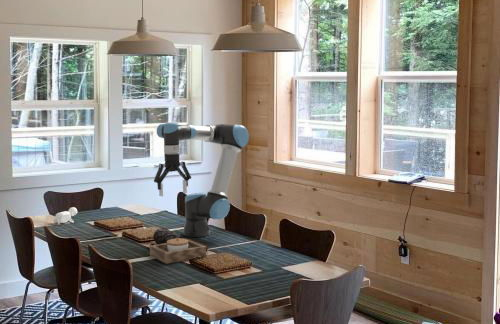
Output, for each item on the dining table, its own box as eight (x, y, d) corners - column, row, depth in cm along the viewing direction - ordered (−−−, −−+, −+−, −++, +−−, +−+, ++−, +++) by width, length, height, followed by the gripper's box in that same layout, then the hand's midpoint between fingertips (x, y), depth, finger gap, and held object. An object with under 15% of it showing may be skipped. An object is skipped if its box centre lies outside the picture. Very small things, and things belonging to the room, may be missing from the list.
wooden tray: (188, 248, 377) (188, 239, 376) (206, 256, 362) (205, 246, 361) (150, 255, 365) (149, 245, 364) (166, 263, 350) (166, 253, 349)
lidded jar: (178, 252, 371) (177, 234, 369) (193, 255, 364) (192, 237, 363) (162, 256, 363) (162, 238, 361) (178, 260, 356) (177, 241, 354)
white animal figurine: (62, 229, 438) (82, 217, 446) (56, 217, 434) (77, 205, 443) (55, 227, 444) (75, 215, 452) (50, 215, 441) (70, 203, 449)
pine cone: (171, 252, 371) (170, 233, 369) (149, 246, 383) (149, 227, 382) (186, 248, 378) (186, 229, 377) (165, 242, 390) (164, 224, 389)
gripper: (152, 156, 360) (154, 198, 363) (197, 151, 373) (198, 192, 376) (146, 154, 366) (147, 196, 369) (190, 150, 380) (191, 190, 383)
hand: (173, 194), depth 373 cm, fingers open, 13 cm apart
